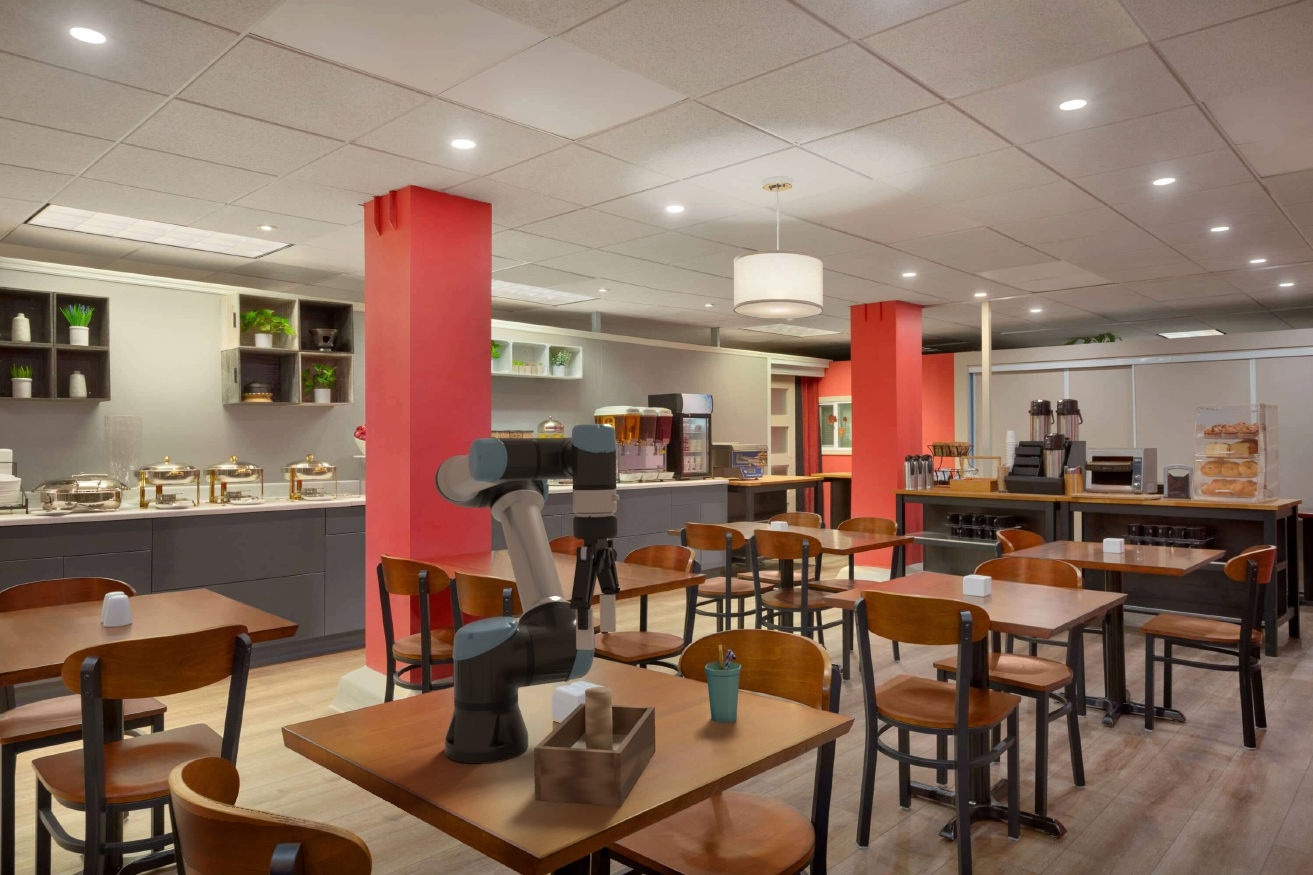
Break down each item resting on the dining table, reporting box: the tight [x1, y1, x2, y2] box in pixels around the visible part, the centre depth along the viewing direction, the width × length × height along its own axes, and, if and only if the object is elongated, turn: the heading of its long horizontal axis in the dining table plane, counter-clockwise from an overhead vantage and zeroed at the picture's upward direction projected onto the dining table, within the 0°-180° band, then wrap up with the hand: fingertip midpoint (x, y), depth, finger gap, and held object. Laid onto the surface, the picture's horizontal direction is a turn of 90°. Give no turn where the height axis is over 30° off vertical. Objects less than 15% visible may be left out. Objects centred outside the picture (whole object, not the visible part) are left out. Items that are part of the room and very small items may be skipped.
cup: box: [704, 644, 742, 724], centre depth 167 cm, size 14×8×15 cm, turn 12°
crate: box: [533, 702, 657, 807], centre depth 140 cm, size 14×24×8 cm, turn 167°
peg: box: [584, 686, 613, 750], centre depth 140 cm, size 4×4×14 cm
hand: (597, 640), depth 140 cm, fingers open, 13 cm apart
